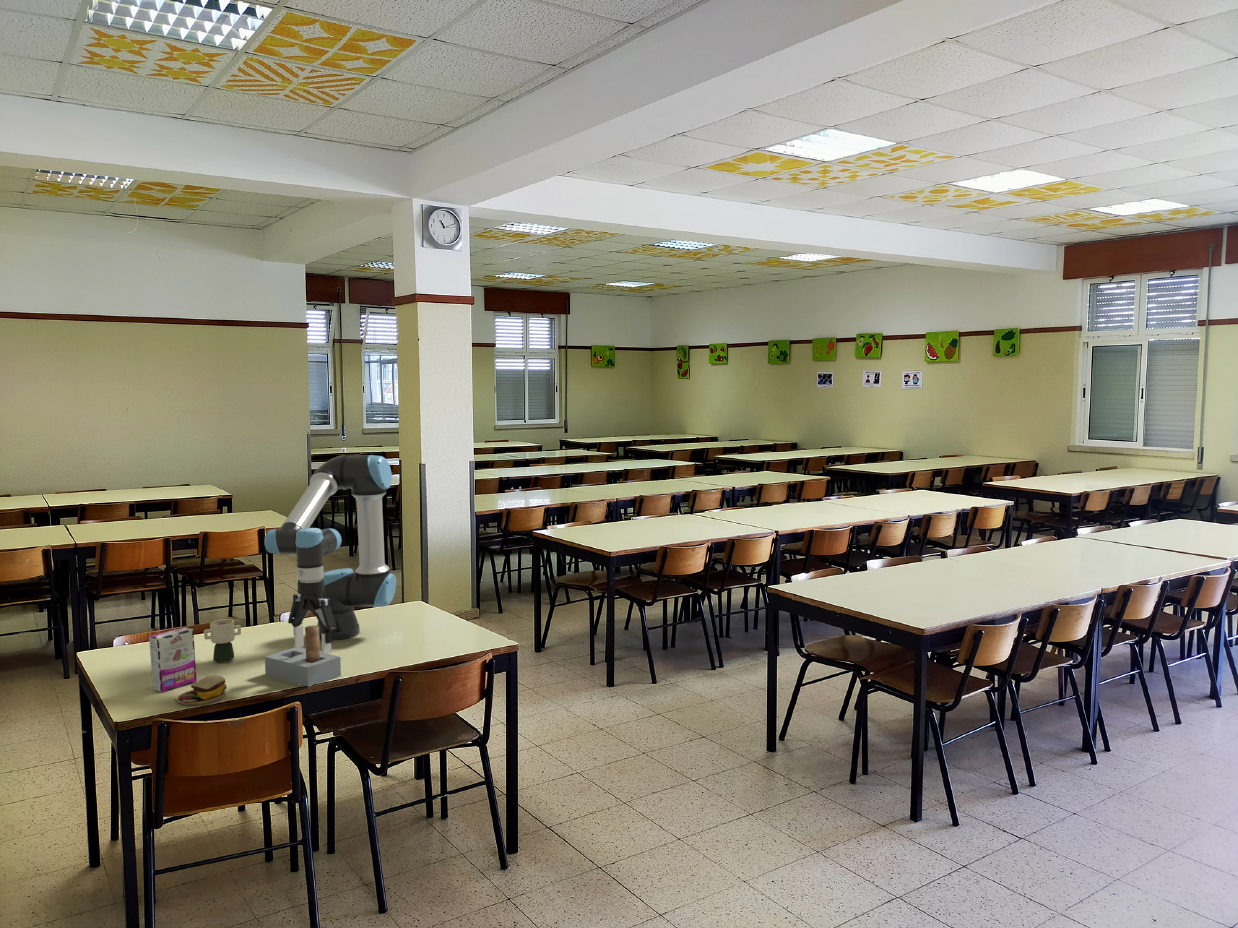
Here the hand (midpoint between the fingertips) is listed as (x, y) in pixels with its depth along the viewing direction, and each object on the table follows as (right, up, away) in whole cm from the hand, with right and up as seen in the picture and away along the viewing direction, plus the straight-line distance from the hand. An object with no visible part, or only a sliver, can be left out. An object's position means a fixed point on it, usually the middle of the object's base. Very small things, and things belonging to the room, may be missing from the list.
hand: (312, 650), depth 260 cm
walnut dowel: (0, -7, 0) cm, 7 cm away
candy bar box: (-39, -10, -6) cm, 41 cm away
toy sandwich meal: (-26, -11, -15) cm, 32 cm away
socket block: (-4, -9, +3) cm, 10 cm away
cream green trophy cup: (-35, -8, +18) cm, 40 cm away
